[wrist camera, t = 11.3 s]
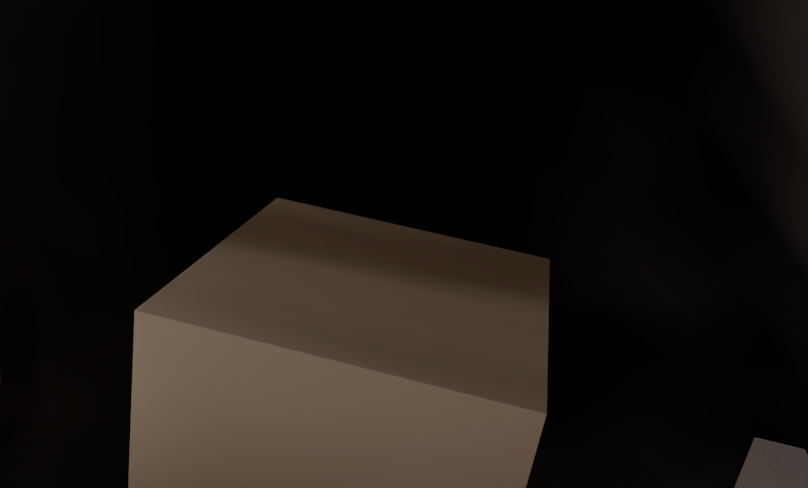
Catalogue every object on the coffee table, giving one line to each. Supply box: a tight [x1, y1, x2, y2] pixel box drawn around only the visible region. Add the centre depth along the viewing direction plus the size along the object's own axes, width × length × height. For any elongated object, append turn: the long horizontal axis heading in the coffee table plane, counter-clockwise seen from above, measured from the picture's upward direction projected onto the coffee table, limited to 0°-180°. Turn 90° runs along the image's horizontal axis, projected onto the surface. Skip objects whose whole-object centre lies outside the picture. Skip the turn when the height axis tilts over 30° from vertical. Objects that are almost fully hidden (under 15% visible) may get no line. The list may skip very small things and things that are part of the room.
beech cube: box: [128, 198, 550, 488], centre depth 12 cm, size 5×5×5 cm
